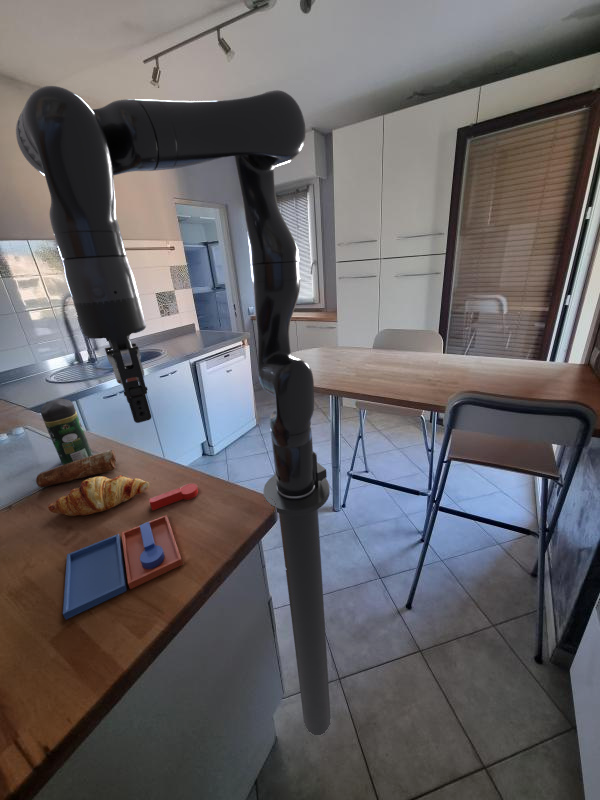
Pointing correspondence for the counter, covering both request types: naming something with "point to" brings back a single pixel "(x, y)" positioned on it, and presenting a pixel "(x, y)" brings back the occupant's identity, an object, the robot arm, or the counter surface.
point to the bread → (78, 469)
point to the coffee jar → (65, 430)
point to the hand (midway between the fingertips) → (139, 410)
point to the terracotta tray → (135, 548)
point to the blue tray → (93, 576)
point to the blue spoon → (150, 549)
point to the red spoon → (174, 496)
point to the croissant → (98, 495)
